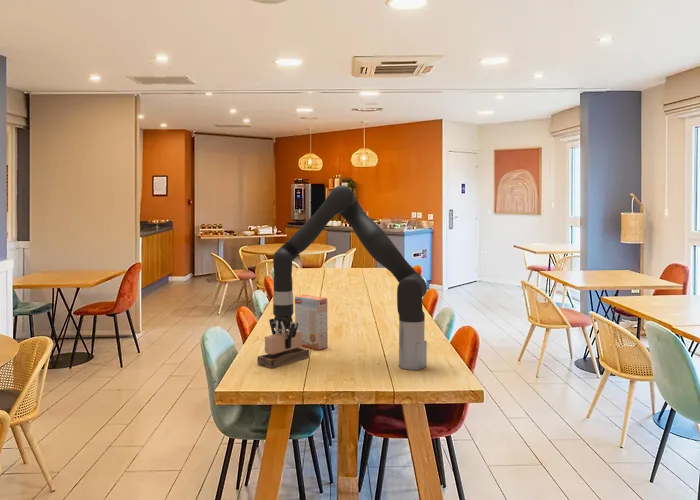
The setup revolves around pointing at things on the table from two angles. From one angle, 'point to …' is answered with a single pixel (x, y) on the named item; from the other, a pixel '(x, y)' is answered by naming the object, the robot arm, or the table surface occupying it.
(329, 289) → the table surface
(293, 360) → the tray
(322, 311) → the cracker box
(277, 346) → the clay strip
